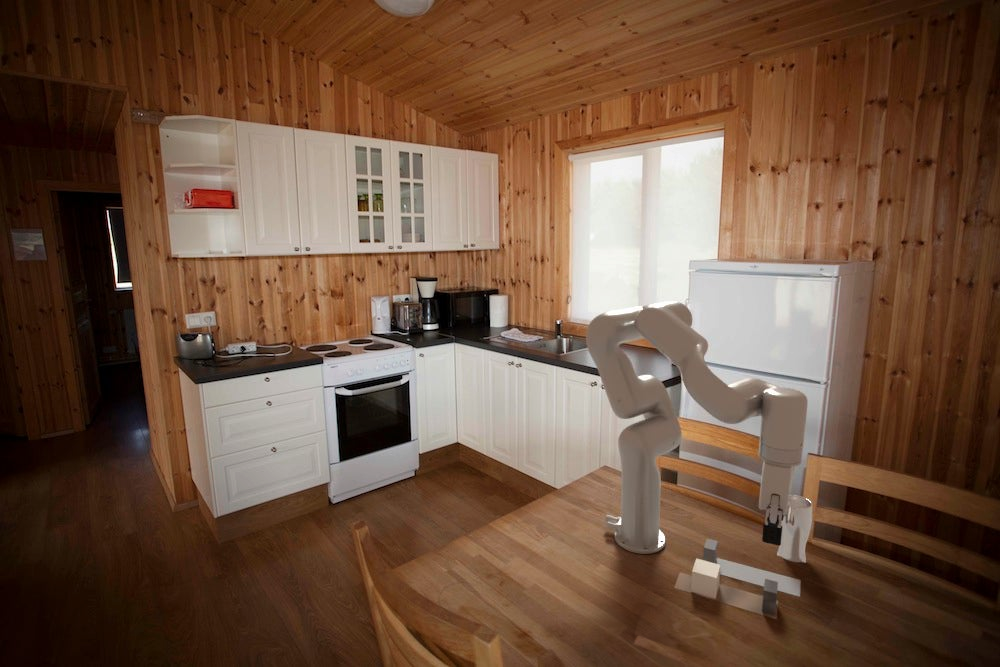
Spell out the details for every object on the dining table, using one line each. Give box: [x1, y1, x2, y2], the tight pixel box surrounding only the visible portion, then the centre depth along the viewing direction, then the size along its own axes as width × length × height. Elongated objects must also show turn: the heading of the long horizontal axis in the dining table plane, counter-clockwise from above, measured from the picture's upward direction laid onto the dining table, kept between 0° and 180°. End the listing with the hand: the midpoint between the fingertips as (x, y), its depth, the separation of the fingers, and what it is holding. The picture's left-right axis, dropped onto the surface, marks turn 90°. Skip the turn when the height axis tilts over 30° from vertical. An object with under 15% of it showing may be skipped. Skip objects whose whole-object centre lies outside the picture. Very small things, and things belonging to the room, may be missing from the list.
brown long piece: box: [673, 571, 779, 620], centre depth 113 cm, size 20×6×6 cm, turn 60°
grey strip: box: [702, 538, 801, 597], centre depth 119 cm, size 20×6×6 cm, turn 60°
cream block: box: [691, 557, 721, 599], centre depth 114 cm, size 5×5×5 cm
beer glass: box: [776, 493, 813, 563], centre depth 124 cm, size 7×7×15 cm
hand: (773, 530), depth 106 cm, fingers open, 9 cm apart
